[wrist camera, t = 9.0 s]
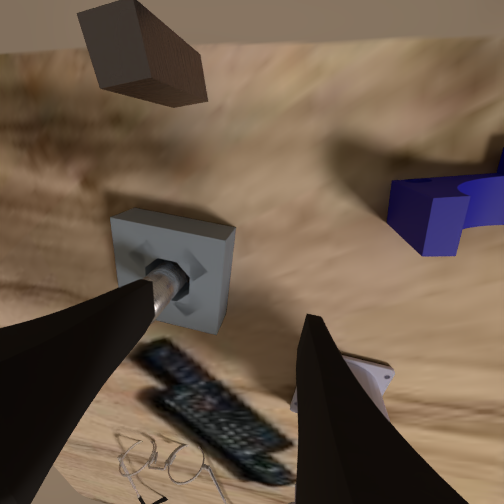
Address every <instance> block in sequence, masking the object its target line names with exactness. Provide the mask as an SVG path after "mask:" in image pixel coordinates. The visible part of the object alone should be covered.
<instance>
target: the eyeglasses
mask: <svg viewBox="0 0 504 504" xmlns="http://www.w3.org/2000/svg"><path fill="white" fill-rule="evenodd" d="M141 442H143V441H138V442H137V443H135V444H134V445H132V446H131V447H130V448H129V449H128V450H127V451H126V452H125V454H124V455H123V454H121V455H119V456H118V457H117V458H118V460H119V462H120V464H119V471H120V473H121V470H120V467H121V466H122V468H123V470H124V471H125V473H126V475H125V474H122V473H121V475H122V476H124V477H128V479H129V481H130V483H131V484H132V486H133V488H134V489H135V491H136V493H137V496H138V499H139V501H140V502H141V504H145V502H144V501H143V499H142V497H141V496H140V494H138V492H137V490H136V486H135V484H134V482H133V480H132V478H131V476H133V475H135V474H137V473H139V472H140V471H141V470H142V469H143V468H144V467H145V466H146V465H147V464H148V463H149V464H148V467H149V469H158V470H165V469H166V466H168V474H169V466H170V465H171V464H172V462H173V461H174V459H175V457H176V455H175V454H176V453H177V452H178V451H179V450H181V449H182V448H184V447H187V446H188V445H185V444H182V445H180V446H179V447H177V448H176V449H175V450H174V451H173V452H172V453H171V455H170V456H169V458H168V459H167V460H166V462H165V466H164V468H158V467H150V464H151V463H152V462H153V461H154V460H155V464H156V461H157V456H158V452H156V449H157V446H156V443H155V441H153V442H154V444H155V451H154V444H153V442H152V441H150V442H151V443H152V444H153V451H152V454H151V456H150V458H149V460H148V461H147V462H146V464H145V465H144V466H143V467H142V468H140V469H139V470H138V471H136V472H134V473H132V474H129V472H128V470H127V468H126V466H125V464H124V462H123V459H124V457H125V455H126V454H127V453H128V452H129V451H130V450H131V449H132V448H133V447H134V446H135V445H137V444H139V443H141ZM198 448H199V449H200V450H201V451H202V453H203V450H202V449H201V447H198ZM153 453H154V454H153ZM155 454H156V455H155ZM152 456H153V457H152ZM202 469H204V470H207V471H208V472H209V473H210V475H211V477H212V479H213V481H214V483H215V485H216V487H217V489H218V491H219V493H220V495H221V497H222V499H223V501H224V503H225V504H226V500H225V498H224V496H223V494H222V492H221V489H220V487H219V485H218V483H217V481H216V479H215V477H214V474H213V472H212V470H211V468H210V466H207V465H206V464H204V453H203V464H202V466H201V469H200V470H199V472H198V473H197V474H196V475H195V476H194V477H193V478H192V479H190V480H188V481H186V482H176V481H174V480H173V479H172V478H171V476H170V474H169V477H170V479H171V480H172V482H174V483H175V484H179V485H183V484H187V483H189V482H191V481H193V480H194V479H195V478H196V477H197V476H198V475H199V473H200V472H201V470H202ZM167 500H168V499H167V498H166V497H163V498H161V499H159V500H157V501H156V502H154V503H152V504H160V503H162V502H165V501H167Z"/></svg>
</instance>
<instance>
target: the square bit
mask: <svg viewBox="0 0 504 504" xmlns="http://www.w3.org/2000/svg"><path fill="white" fill-rule="evenodd" d="M77 16H78V19H79V23H80V26H81V29H82V32H83V35H84V39H85V42H86V45H87V48H88V51H89V55H90V58H91V61H92V64H93V67H94V71H95V74H96V77H97V80H98V83H99V87H100V89H103V90H107V91H111V92H115V93H119V94H122V95H126V96H130V97H134V98H138V99H142V100H146V101H149V102H153V103H157V104H161V105H165V106H169V107H172V108H175V107H181V106H186V105H192V104H197V103H203V102H208V98H207V92H206V86H205V80H204V74H203V68H202V62H201V56H200V54H199V53H198V52H197V51H196V50H194V49H193V48H192V47H191V46H190V45H189V44H187V43H186V42H185V41H184V40H183V39H182V38H180V37H179V36H178V35H177V34H176V33H175V32H173V31H172V30H171V29H170V28H169V27H168V26H166V25H165V24H164V23H163V22H162V21H161V20H159V19H158V18H157V17H156V16H155V15H153V14H152V13H151V12H150V11H149V10H148V9H147V8H145V7H144V6H143V5H142V4H141V3H140V2H138V1H137V0H119V1H116V2H112V3H109V4H106V5H102V6H99V7H96V8H93V9H89V10H86V11H83V12H79V13H77Z"/></svg>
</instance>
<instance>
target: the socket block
mask: <svg viewBox="0 0 504 504" xmlns="http://www.w3.org/2000/svg"><path fill="white" fill-rule="evenodd" d="M110 221H111V229H112V237H113V246H114V254H115V262H116V270H117V278H118V286H119V287H121V286H124V285H126V284H129V283H131V282H134V281H136V280H139V279H143V278H144V277H145V276H147V275H148V274H149V273H150V272H151V271H152V270H154V269H155V268H156V267H157V266H158V265H159V264H161V263H162V262H163V261H164V260H169V261H174V262H177V263H178V264H179V266H180V267H181V268H182V269H183V270H184V271H185V272H186V274H187V275H188V276H189V277H190V283H188V282H186V283H185V284H184V285H183V287H182V288H181V289H180V290H179V291H178V293H177V294H176V295H175V296H174V298H173V299H172V300H171V301H170V302H169V304H168V305H167V306H166V307H165V308H164V310H163V311H162V312H161V313H160V315H159V316H158V317H157V318H156V319H155V320H157V321H161V322H165V323H169V324H173V325H177V326H181V327H185V328H190V329H194V330H198V331H202V332H206V333H210V334H214V335H217V333H218V331H219V328H220V326H221V324H222V322H223V319H224V317H225V315H226V310H227V301H228V292H229V284H230V275H231V266H232V257H233V248H234V240H235V231H236V227H231V226H226V225H221V224H216V223H211V222H206V221H200V220H195V219H190V218H185V217H180V216H175V215H170V214H164V213H159V212H154V211H149V210H144V209H139V208H133V209H130V210H128V211H125V212H122V213H120V214H117V215H115V216H112V217H110Z"/></svg>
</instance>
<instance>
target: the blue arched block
mask: <svg viewBox="0 0 504 504" xmlns="http://www.w3.org/2000/svg"><path fill="white" fill-rule="evenodd" d="M387 224H388V225H389V226H390V227H391V228H393V229H394V230H395V231H396V232H397V233H398V234H399V235H400V236H401V237H402V238H403V239H404V240H405V241H406V242H407V243H408V244H409V245H411V246H412V247H413V248H414V249H415V250H416V251H417V252H418V253H419V254H420V255H421V256H456V253H457V249H458V245H459V241H460V237H461V233H462V229H465V228H470V227H477V226H487V225H504V148H503V152H502V155H501V159H500V162H499V166H498V169H497V173H489V174H475V175H461V176H447V177H433V178H419V179H406V180H392V183H391V191H390V199H389V208H388V216H387Z"/></svg>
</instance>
